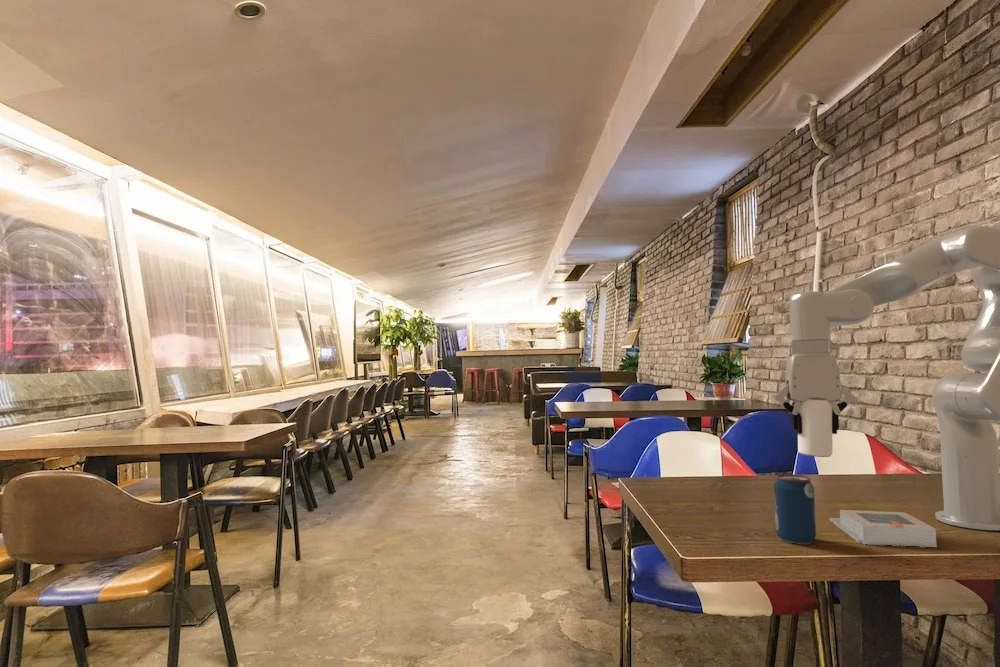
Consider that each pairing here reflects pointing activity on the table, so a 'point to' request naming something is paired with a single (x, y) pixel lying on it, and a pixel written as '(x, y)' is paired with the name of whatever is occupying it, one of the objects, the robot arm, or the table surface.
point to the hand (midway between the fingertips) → (815, 432)
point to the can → (816, 428)
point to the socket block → (886, 528)
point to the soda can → (794, 509)
